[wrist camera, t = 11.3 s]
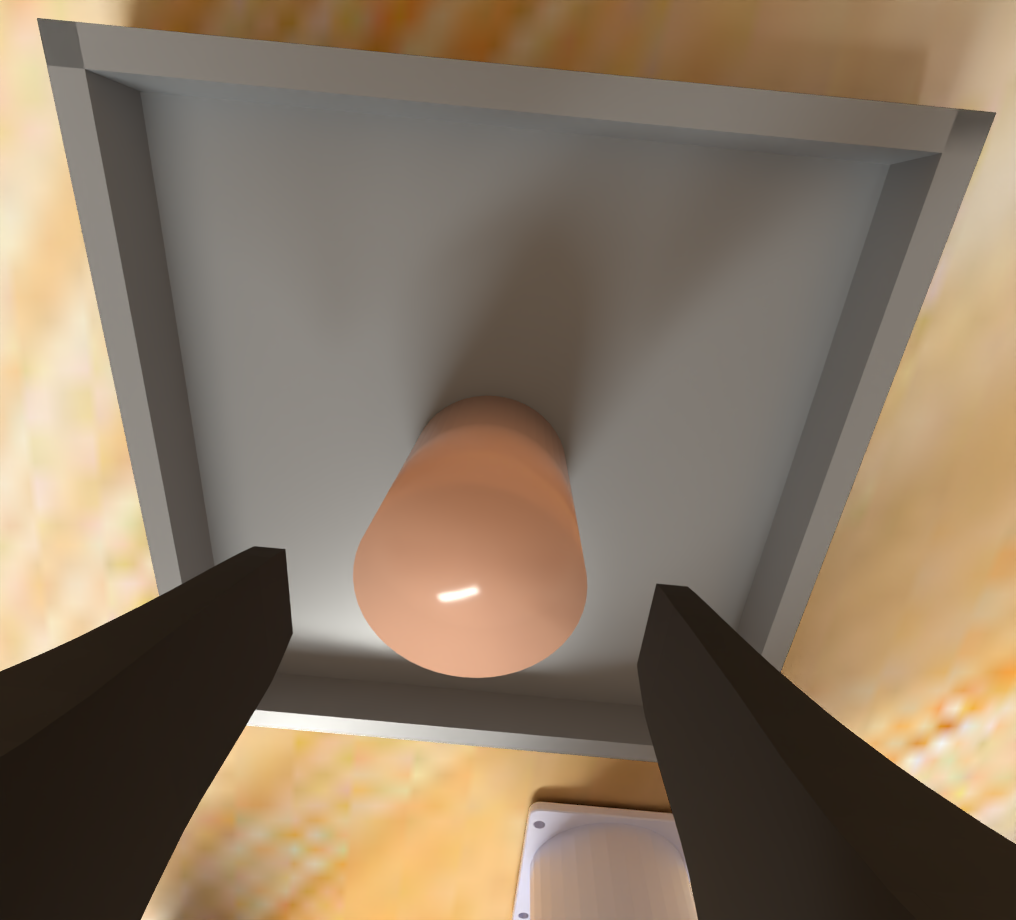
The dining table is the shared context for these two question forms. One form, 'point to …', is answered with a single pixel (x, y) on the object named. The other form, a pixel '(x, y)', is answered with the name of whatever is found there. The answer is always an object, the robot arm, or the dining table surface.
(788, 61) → the dining table surface
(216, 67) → the tray
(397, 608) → the pink rounded cylinder
